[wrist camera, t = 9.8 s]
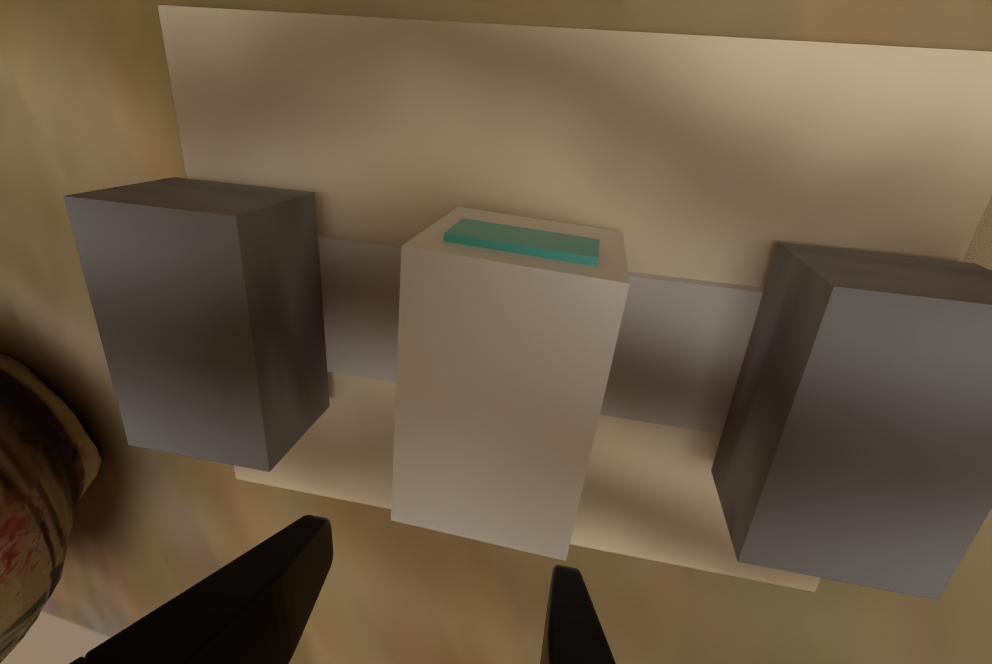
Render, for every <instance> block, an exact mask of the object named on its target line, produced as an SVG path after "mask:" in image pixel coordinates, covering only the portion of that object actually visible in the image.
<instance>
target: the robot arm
mask: <svg viewBox="0 0 992 664" xmlns="http://www.w3.org/2000/svg"><path fill="white" fill-rule="evenodd" d="M332 560H333V543H332V530H331V523H330V521H329V520H328V519H327V518H323V517H318V516H313V515H306V516H303V517H302V518H300V519H298V520H297V521H295V522H294V523H292V524H290V525H289V526H287V527H286V528H284V529H283V530H281V531H279V532H278V533H276V534H275V535H273V536H271V537H270V538H268V539H267V540H265V541H263V542H262V543H260V544H259V545H257V546H256V547H254V548H252V549H251V550H249V551H248V552H246V553H244V554H243V555H241V556H240V557H238V558H237V559H235V560H233V561H232V562H230V563H229V564H227V565H225V566H224V567H222V568H221V569H219V570H217V571H216V572H214V573H213V574H211V575H210V576H208V577H206V578H205V579H203V580H202V581H200V582H198V583H197V584H195V585H194V586H192V587H191V588H189V589H187V590H186V591H184V592H183V593H181V594H179V595H178V596H176V597H175V598H173V599H171V600H170V601H168V602H167V603H165V604H164V605H162V606H160V607H159V608H157V609H156V610H154V611H152V612H151V613H149V614H148V615H146V616H145V617H143V618H141V619H140V620H138V621H137V622H135V623H133V624H132V625H130V626H129V627H127V628H126V629H124V630H122V631H121V632H119V633H118V634H116V635H114V636H113V637H111V638H110V639H108V640H106V641H105V642H104V643H102V644H100V645H99V646H97V647H96V648H94V649H92V650H91V651H89V652H88V653H87V654H86V656H85V658H84V657H79V658H78V659H76V660H74V661H73V662H71V663H70V664H289V662H290V660H291V658H292V656H293V654H294V651H295V649H296V647H297V645H298V643H299V640H300V638H301V636H302V633H303V631H304V629H305V626H306V624H307V621H308V619H309V617H310V614H311V612H312V610H313V607H314V605H315V603H316V600H317V598H318V596H319V593H320V591H321V588H322V586H323V584H324V581H325V579H326V577H327V574H328V572H329V570H330V567H331V564H332ZM540 664H616V663H615V660H614V658H613V655H612V653H611V650H610V647H609V645H608V642H607V640H606V637H605V634H604V632H603V629H602V627H601V624H600V622H599V619H598V616H597V614H596V611H595V609H594V606H593V603H592V601H591V598H590V596H589V593H588V590H587V588H586V585H585V583H584V580H583V578H582V575H581V573H580V571H579V570H578V569H576V568H572V567H567V566H562V565H556V566H554V568H553V572H552V579H551V585H550V592H549V598H548V605H547V613H546V621H545V629H544V637H543V645H542V653H541V661H540Z"/></svg>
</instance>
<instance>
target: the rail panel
mask: <svg viewBox="0 0 992 664" xmlns="http://www.w3.org/2000/svg"><path fill="white" fill-rule="evenodd" d="M158 10H159V16H160V22H161V28H162V34H163V40H164V46H165V52H166V58H167V64H168V70H169V76H170V82H171V88H172V95H173V101H174V107H175V113H176V119H177V125H178V131H179V137H180V143H181V149H182V155H183V161H184V167H185V173H186V178H178V177H174V178H168V179H162V180H156V181H150V182H144V183H138V184H132V185H126V186H120V187H114V188H108V189H102V190H96V191H90V192H84V193H78V194H72V195H66V196H64V199H65V203H66V207H67V211H68V214H69V218H70V222H71V226H72V230H73V234H74V237H75V241H76V245H77V249H78V253H79V257H80V260H81V264H82V268H83V272H84V276H85V280H86V283H87V287H88V291H89V295H90V299H91V303H92V306H93V310H94V314H95V318H96V322H97V326H98V329H99V333H100V337H101V341H102V345H103V349H104V352H105V356H106V360H107V364H108V368H109V372H110V375H111V379H112V383H113V387H114V391H115V395H116V398H117V402H118V406H119V410H120V414H121V418H122V421H123V425H124V429H125V433H126V437H127V441H128V444H129V445H131V446H136V447H141V448H146V449H151V450H157V451H162V452H167V453H172V454H178V455H183V456H188V457H193V458H198V459H204V460H209V461H214V462H219V463H225V464H230V465H234V470H235V476H236V479H239V480H244V481H249V482H254V483H260V484H265V485H270V486H275V487H280V488H285V489H290V490H295V491H300V492H306V493H311V494H316V495H321V496H326V497H331V498H336V499H341V500H346V501H352V502H357V503H362V504H367V505H372V506H377V507H382V508H387V509H391V501H392V476H393V451H394V425H395V400H396V374H397V349H398V324H399V298H400V273H401V247H402V245H404V244H405V243H407V242H408V241H409V240H411V239H412V238H414V237H415V236H417V235H418V234H419V233H421V232H422V231H424V230H425V229H427V228H428V227H430V226H431V225H432V224H434V223H435V222H437V221H438V220H440V219H441V218H443V217H444V216H445V215H447V214H448V213H450V212H451V211H453V210H454V209H455V208H457V207H464V208H471V209H478V210H484V211H491V212H497V213H504V214H510V215H517V216H523V217H530V218H536V219H543V220H549V221H556V222H562V223H569V224H575V225H582V226H588V227H595V228H601V229H608V230H614V231H621V232H623V239H624V246H625V253H626V260H627V267H628V274H629V281H630V286H629V290H628V294H627V299H626V303H625V307H624V312H623V316H622V320H621V325H620V329H619V333H618V338H617V342H616V346H615V351H614V355H613V359H612V364H611V368H610V372H609V377H608V381H607V385H606V390H605V394H604V398H603V403H602V407H601V411H600V416H599V420H598V424H597V429H596V433H595V437H594V442H593V446H592V450H591V455H590V459H589V463H588V468H587V472H586V476H585V481H584V485H583V489H582V494H581V498H580V502H579V507H578V511H577V515H576V520H575V524H574V528H573V533H572V537H571V541H570V544H572V545H577V546H582V547H587V548H592V549H597V550H602V551H607V552H612V553H618V554H623V555H628V556H633V557H638V558H643V559H648V560H653V561H659V562H664V563H669V564H674V565H679V566H684V567H689V568H694V569H699V570H705V571H710V572H715V573H720V574H725V575H730V576H735V577H740V578H746V579H751V580H756V581H761V582H766V583H771V584H776V585H781V586H786V587H792V588H797V589H802V590H807V591H812V592H815V591H816V589H817V586H818V584H819V582H820V580H821V578H825V579H830V580H835V581H841V582H846V583H851V584H856V585H861V586H867V587H872V588H877V589H882V590H888V591H893V592H898V593H903V594H908V595H914V596H919V597H924V598H929V599H935V600H938V599H939V597H940V595H941V594H942V592H943V590H944V588H945V587H946V585H947V583H948V582H949V580H950V578H951V576H952V575H953V573H954V571H955V570H956V568H957V566H958V564H959V563H960V561H961V559H962V558H963V556H964V554H965V552H966V551H967V549H968V547H969V546H970V544H971V542H972V540H973V539H974V537H975V535H976V534H977V532H978V530H979V528H980V527H981V525H982V523H983V522H984V520H985V518H986V516H987V515H988V513H989V511H990V510H991V508H992V271H991V270H989V269H987V268H984V267H982V266H980V265H977V264H975V263H966V262H962V261H963V259H964V256H965V254H966V252H967V250H968V247H969V245H970V243H971V241H972V238H973V236H974V234H975V232H976V229H977V227H978V225H979V223H980V220H981V218H982V216H983V214H984V211H985V209H986V207H987V205H988V202H989V200H990V198H991V196H992V52H986V51H969V50H951V49H933V48H915V47H897V46H879V45H862V44H844V43H826V42H808V41H790V40H772V39H755V38H737V37H719V36H701V35H683V34H665V33H648V32H630V31H612V30H594V29H576V28H558V27H541V26H523V25H505V24H487V23H469V22H451V21H434V20H416V19H398V18H380V17H362V16H344V15H327V14H309V13H291V12H273V11H255V10H237V9H219V8H202V7H184V6H166V5H158Z"/></svg>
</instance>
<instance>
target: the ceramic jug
mask: <svg viewBox="0 0 992 664" xmlns="http://www.w3.org/2000/svg"><path fill="white" fill-rule="evenodd" d="M101 461H102V460H101V457H100V453H99V450H98V449H97V447H96V446H95V445H94V443H93V442H92V440H91V439H90V438H89V436H88V435H87V434H86V432H85V430H84V429H83V427H82V425H81V424H80V422H79V420H78V419H77V417H76V416H75V415H74V413H73V412H72V411H71V410H70V408H69V407H68V406H67V405H66V404H65V402H64V401H62V400H61V399H60V398H59V397H58V396H57V395H56V394H55V393H54V392H53V391H52V390H51V389H50V388H49V387H48V386H47V385H46V384H44V383H43V382H42V381H41V380H40V379H39V378H38V377H37V376H36V375H35V374H34V373H33V372H32V371H31V370H30V369H29V368H28V367H26V366H25V365H23V364H21V363H20V362H18V361H17V360H15V359H13V358H10V357H7V356H5V355H2V354H0V663H1V662H2V661H3V659H4V658H5V657H6V656H7V655H8V654H9V653H10V652H11V651H12V650H13V649H14V648H15V647H16V645H17V644H18V643H19V642H20V641H21V640H22V638H23V637H24V636H25V634H26V633H27V632H28V630H29V629H30V627H31V626H32V625H33V624H34V622H35V621H36V619H37V618H38V616H39V614H40V612H41V609H42V607H43V606H44V605H45V603H46V602H47V600H48V599H49V598H50V596H51V594H52V593H53V591H54V589H55V587H56V585H57V584H58V582H59V580H60V578H61V575H62V570H63V565H64V560H65V555H66V550H67V545H68V540H69V536H70V532H71V528H72V524H73V521H74V517H75V513H76V509H77V505H78V502H79V500H80V498H81V497H82V496H83V494H84V493H85V491H86V490H87V489H88V487H89V486H90V485H91V483H92V482H93V480H94V479H95V478H96V476H97V474H98V471H99V468H100V464H101Z"/></svg>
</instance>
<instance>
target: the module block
mask: <svg viewBox="0 0 992 664" xmlns="http://www.w3.org/2000/svg"><path fill="white" fill-rule="evenodd" d="M629 286H630V281H629V274H628V267H627V260H626V253H625V246H624V239H623V232H621V231H614V230H608V229H601V228H595V227H588V226H582V225H575V224H569V223H562V222H556V221H549V220H543V219H536V218H530V217H523V216H517V215H510V214H504V213H497V212H491V211H484V210H478V209H471V208H464V207H457V208H455V209H454V210H453V211H451V212H450V213H448V214H447V215H445V216H444V217H443V218H441V219H440V220H438V221H437V222H435V223H434V224H432V225H431V226H430V227H428V228H427V229H425V230H424V231H422V232H421V233H419V234H418V235H417V236H415V237H414V238H412V239H411V240H409V241H408V242H407V243H405V244H404V245H402V247H401V273H400V298H399V324H398V349H397V374H396V400H395V425H394V451H393V476H392V501H391V520H392V521H396V522H401V523H405V524H409V525H414V526H418V527H422V528H426V529H431V530H435V531H439V532H443V533H448V534H452V535H456V536H461V537H465V538H469V539H473V540H478V541H482V542H486V543H491V544H495V545H499V546H503V547H508V548H512V549H516V550H520V551H525V552H529V553H533V554H538V555H542V556H546V557H550V558H555V559H559V560H563V561H566V559H567V554H568V550H569V546H570V541H571V537H572V533H573V528H574V524H575V520H576V515H577V511H578V507H579V502H580V498H581V494H582V489H583V485H584V481H585V476H586V472H587V468H588V463H589V459H590V455H591V450H592V446H593V442H594V437H595V433H596V429H597V424H598V420H599V416H600V411H601V407H602V403H603V398H604V394H605V390H606V385H607V381H608V377H609V372H610V368H611V364H612V359H613V355H614V351H615V346H616V342H617V338H618V333H619V329H620V325H621V320H622V316H623V312H624V307H625V303H626V299H627V294H628V290H629Z"/></svg>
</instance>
